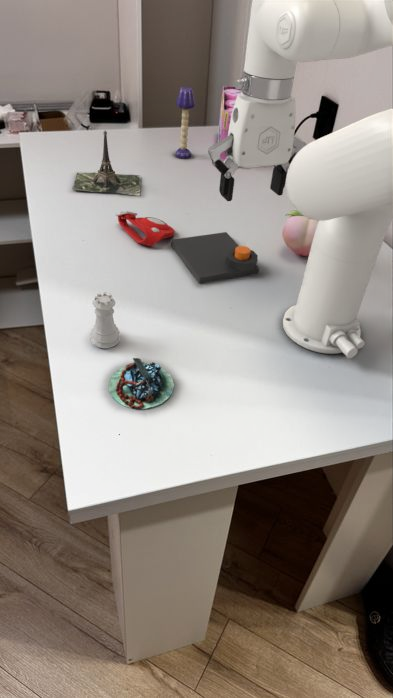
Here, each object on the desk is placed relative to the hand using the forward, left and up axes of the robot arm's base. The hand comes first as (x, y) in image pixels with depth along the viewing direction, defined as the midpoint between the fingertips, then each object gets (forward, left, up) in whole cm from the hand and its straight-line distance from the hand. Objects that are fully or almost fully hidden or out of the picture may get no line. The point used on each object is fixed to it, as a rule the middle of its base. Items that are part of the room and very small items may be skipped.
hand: (251, 195), depth 91 cm
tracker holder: (+17, +13, -15) cm, 26 cm away
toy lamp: (+54, -10, -15) cm, 57 cm away
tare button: (0, 0, -12) cm, 12 cm away
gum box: (+55, -25, -15) cm, 62 cm away
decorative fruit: (+1, -14, -15) cm, 20 cm away
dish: (-24, +28, -15) cm, 40 cm away
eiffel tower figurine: (+41, +14, -15) cm, 46 cm away
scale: (+4, +4, -15) cm, 15 cm away
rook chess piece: (-13, +30, -15) cm, 36 cm away
